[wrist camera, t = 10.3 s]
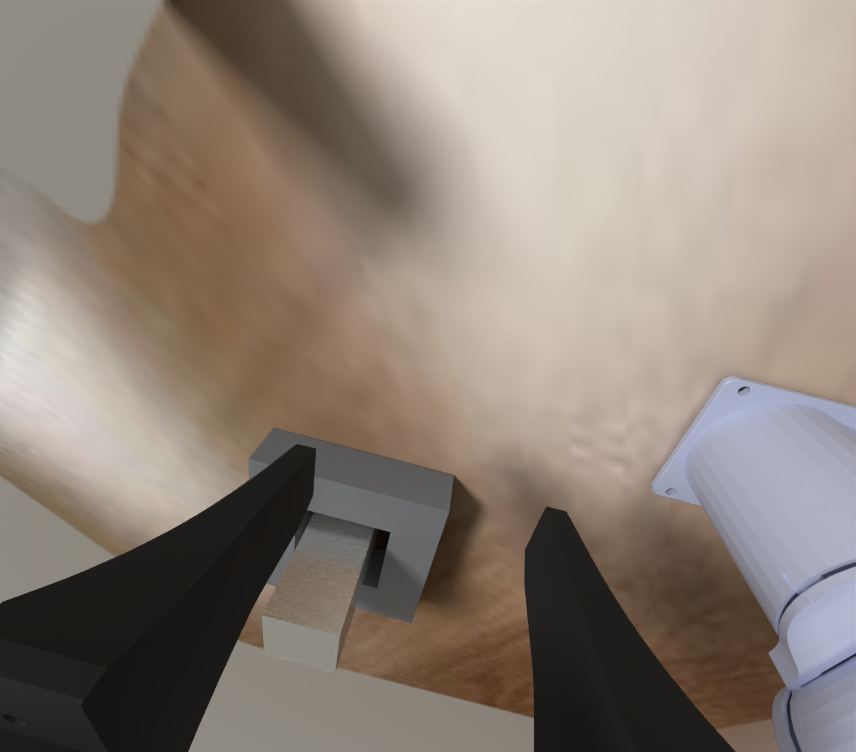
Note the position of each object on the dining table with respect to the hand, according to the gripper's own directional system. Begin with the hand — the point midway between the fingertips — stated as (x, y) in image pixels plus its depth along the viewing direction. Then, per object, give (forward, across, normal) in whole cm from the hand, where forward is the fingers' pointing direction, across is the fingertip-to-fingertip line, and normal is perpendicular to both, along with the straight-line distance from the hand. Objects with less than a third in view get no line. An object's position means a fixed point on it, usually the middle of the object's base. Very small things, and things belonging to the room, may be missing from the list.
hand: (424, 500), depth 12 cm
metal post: (+10, +4, +14) cm, 18 cm away
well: (+10, +4, +14) cm, 18 cm away
